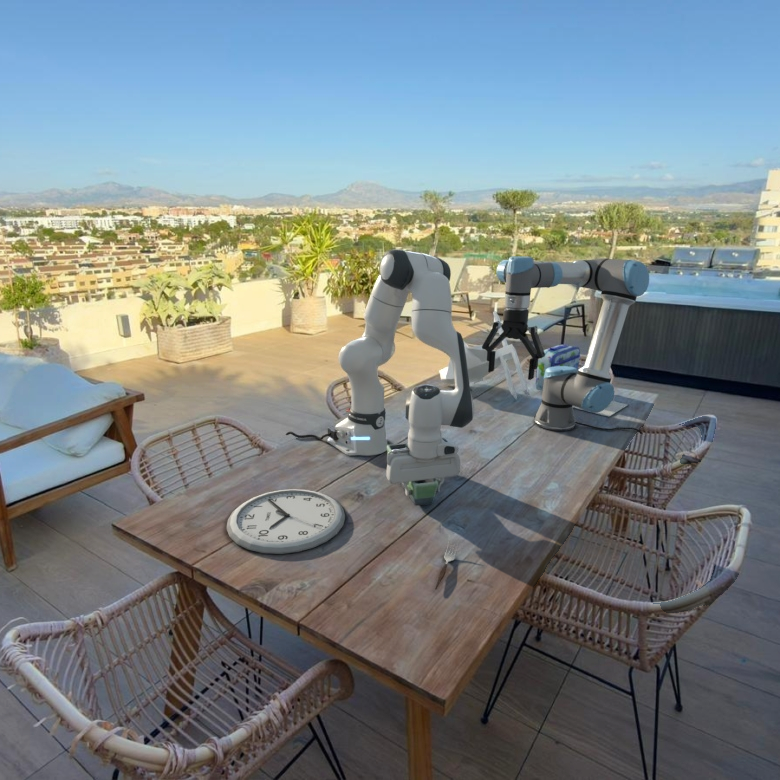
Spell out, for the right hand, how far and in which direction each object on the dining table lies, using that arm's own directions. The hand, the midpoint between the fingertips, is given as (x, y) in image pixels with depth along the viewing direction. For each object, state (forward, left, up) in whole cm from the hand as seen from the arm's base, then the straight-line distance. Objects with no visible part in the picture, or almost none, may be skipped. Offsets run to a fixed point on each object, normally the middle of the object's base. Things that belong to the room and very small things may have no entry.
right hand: (510, 375), depth 167 cm
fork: (+18, +64, -28) cm, 72 cm away
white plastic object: (+5, -71, -28) cm, 77 cm away
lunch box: (-32, -82, -28) cm, 93 cm away
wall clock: (+59, +49, -28) cm, 82 cm away
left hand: (+25, +36, -25) cm, 50 cm away
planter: (+29, +26, -28) cm, 48 cm away
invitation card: (-47, -59, -28) cm, 81 cm away
